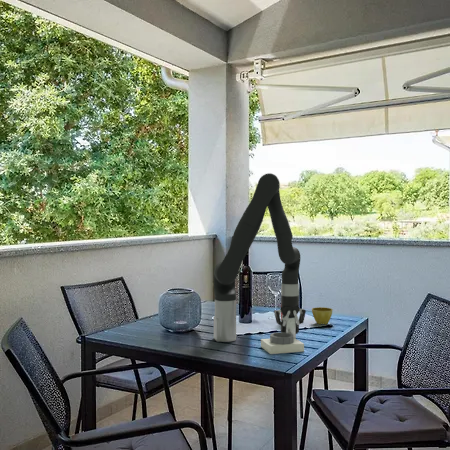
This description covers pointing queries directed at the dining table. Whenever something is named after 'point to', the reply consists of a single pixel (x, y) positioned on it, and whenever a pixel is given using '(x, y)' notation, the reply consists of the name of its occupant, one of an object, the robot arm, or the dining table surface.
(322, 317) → the flower pot
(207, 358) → the dining table surface
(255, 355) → the dining table surface
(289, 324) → the pale grey cylinder
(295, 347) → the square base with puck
